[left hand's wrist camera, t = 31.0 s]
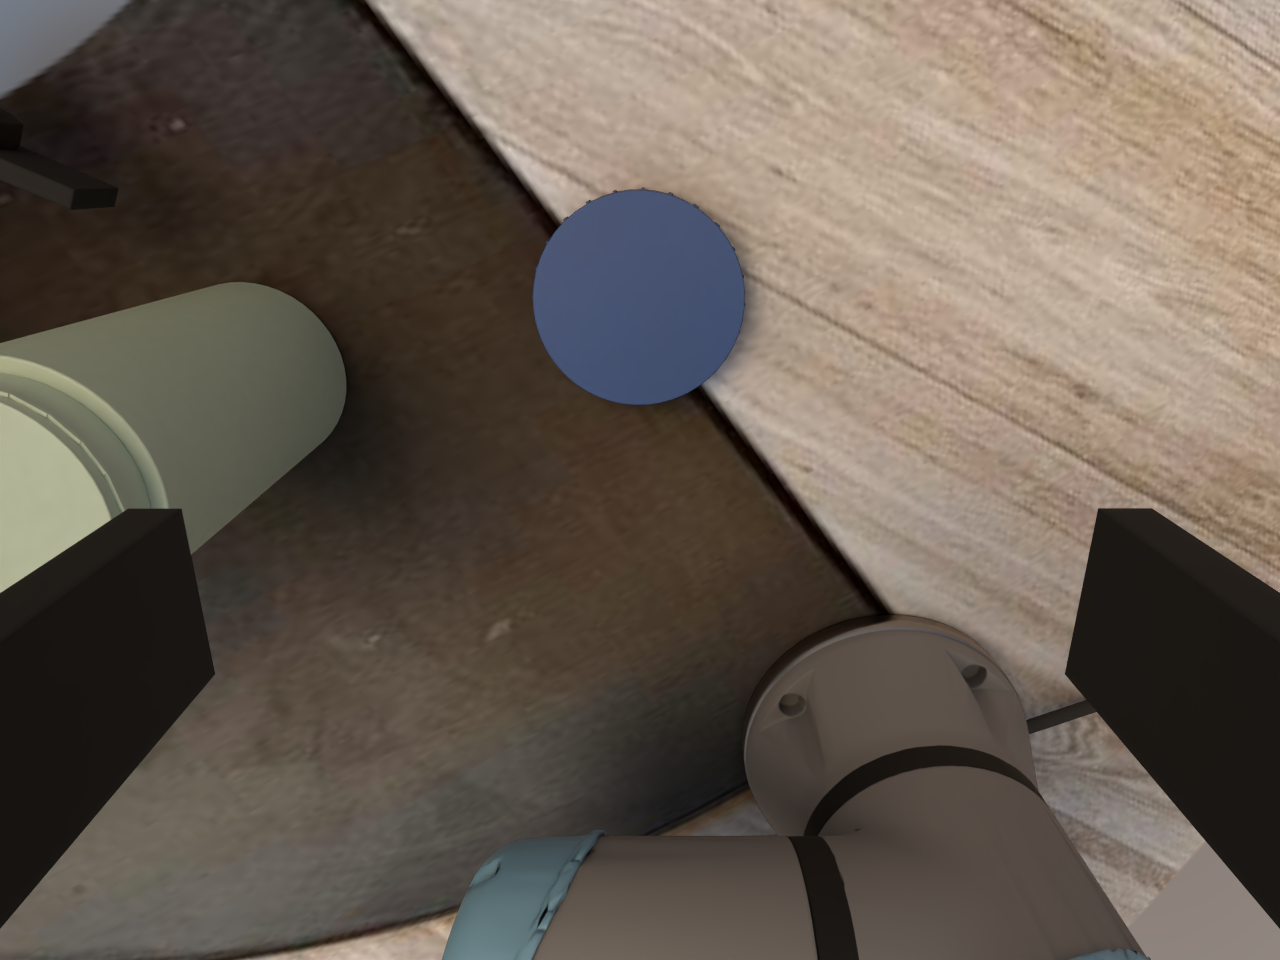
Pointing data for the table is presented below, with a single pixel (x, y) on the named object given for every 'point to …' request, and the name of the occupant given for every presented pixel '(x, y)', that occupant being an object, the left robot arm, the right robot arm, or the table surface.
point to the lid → (638, 297)
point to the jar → (159, 415)
